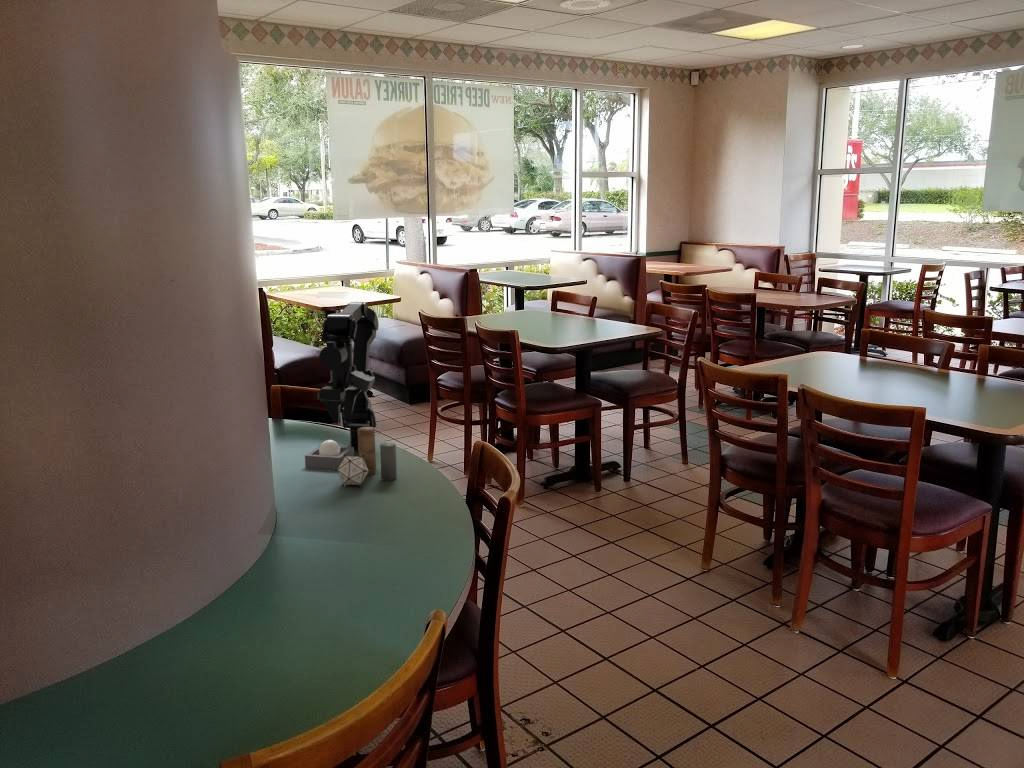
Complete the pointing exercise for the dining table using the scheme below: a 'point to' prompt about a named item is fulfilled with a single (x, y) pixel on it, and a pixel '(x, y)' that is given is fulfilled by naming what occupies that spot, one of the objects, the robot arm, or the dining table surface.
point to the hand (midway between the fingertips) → (343, 419)
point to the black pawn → (388, 461)
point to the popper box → (327, 458)
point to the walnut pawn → (367, 447)
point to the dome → (329, 448)
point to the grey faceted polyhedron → (353, 470)
